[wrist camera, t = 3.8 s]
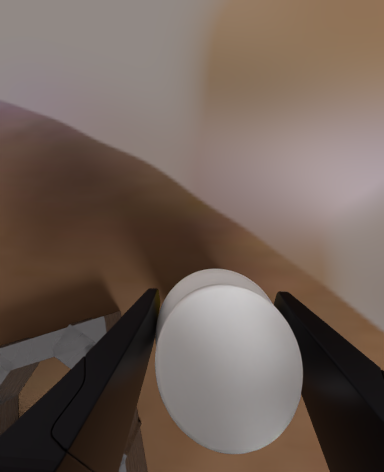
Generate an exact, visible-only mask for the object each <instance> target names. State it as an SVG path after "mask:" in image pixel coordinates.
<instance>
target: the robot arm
mask: <svg viewBox="0 0 384 472" xmlns="http://www.w3.org/2000/svg"><path fill="white" fill-rule="evenodd" d="M274 306H275V307H276V308H277V309H278V311H279V312H280V313H281V314H282V315H283V317H284V318H285V320H286V321H287V322H288V324H289V326H290V328H291V329H292V331H293V334H294V336H295V338H296V341H297V343H298V346H299V350H300V354H301V359H302V366H303V381H302V391H301V394H302V397H303V400H304V402H305V405H306V408H307V411H308V413H309V416H310V419H311V422H312V424H313V427H314V430H315V432H316V435H317V438H318V441H319V443H320V446H321V449H322V451H323V454H324V457H325V460H326V462H327V465H328V468H329V470H330V472H384V371H383V370H381V368H380V367H379V366H377V365H376V364H375V363H374V362H373V361H371V360H370V359H369V358H368V357H366V356H365V355H364V354H363V353H362V352H360V351H359V350H358V349H357V348H356V347H354V346H353V345H352V344H351V343H350V342H348V341H347V340H346V339H345V338H343V337H342V336H341V335H340V334H339V333H337V332H336V331H335V330H334V329H333V328H331V327H330V326H329V325H328V324H326V323H325V322H324V321H323V320H322V319H320V318H319V317H318V316H317V315H316V314H314V313H313V312H312V311H311V310H309V309H308V308H307V307H306V306H305V305H303V304H302V303H301V302H300V301H299V300H297V299H296V298H295V297H294V296H292V295H291V294H290V293H289V292H278V293H277V295H276V299H275V302H274ZM159 308H160V297H159V291H158V289H156V288H150V289H148V290H147V291H146V292H145V293H144V294H143V295H142V296H141V297H140V298H139V299H138V300H137V301H136V302H135V304H134V305H133V306H132V307H131V308H130V309H129V310H128V311H127V312H126V313H125V314H124V315H123V316H122V317H121V318H120V319H119V320H118V321H117V322H116V323H115V324H114V325H113V326H112V327H111V328H110V329H109V331H108V332H107V333H106V334H105V335H104V336H103V337H102V338H101V339H100V340H99V341H98V342H97V343H96V344H95V345H94V346H93V347H92V348H91V349H90V350H89V351H88V352H87V353H86V355H85V356H83V357H82V358H81V360H80V361H79V362H78V363H77V364H76V365H75V366H74V367H73V368H72V369H71V370H70V371H69V372H68V373H67V374H66V375H65V376H64V377H63V378H62V379H61V380H60V381H59V382H58V383H57V384H56V385H54V386H53V387H52V388H51V389H50V390H49V391H48V392H47V393H46V394H45V395H44V396H43V397H42V398H41V399H40V400H38V401H37V402H36V403H35V404H34V405H33V406H32V407H31V408H30V409H29V410H27V411H26V412H25V413H24V414H23V415H22V416H21V417H20V418H19V419H18V420H16V421H15V422H14V423H13V424H12V425H11V426H10V427H9V428H8V429H7V430H5V431H4V432H3V433H2V434H1V435H0V472H119V469H120V465H121V461H122V457H123V454H124V450H125V446H126V443H127V439H128V435H129V432H130V428H131V424H132V421H133V417H134V413H135V410H136V406H137V402H138V399H139V395H140V391H141V387H142V384H143V380H144V376H145V373H146V369H147V365H148V362H149V358H150V354H151V351H152V347H153V343H154V339H155V333H156V325H157V319H158V315H159Z"/></svg>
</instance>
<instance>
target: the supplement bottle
mask: <svg viewBox="0 0 384 472" xmlns="http://www.w3.org/2000/svg"><path fill="white" fill-rule="evenodd" d="M155 339H156V354H155V371H156V379H157V385H158V389H159V393H160V395H161V398H162V401H163V403H164V405H165V407H166V409H167V411H168V412H169V414H170V416H171V418H172V419H173V420H174V422H175V423H176V424H177V426H178V427H179V428H180V429H181V430H182V431H183V432H184V433H185V434H186V435H187V436H189V437H190V438H191V439H193V440H194V441H195V442H197V443H198V444H200V445H202V446H204V447H205V448H208V449H210V450H213V451H216V452H220V453H225V454H244V453H248V452H252V451H255V450H259V449H261V448H263V447H265V446H267V445H268V444H270V443H271V442H273V441H274V440H275V439H276V438H277V437H279V436H280V434H281V433H282V432H283V431H284V430H285V429H286V427H287V426H288V424H289V423H290V421H291V420H292V418H293V416H294V414H295V411H296V409H297V406H298V403H299V400H300V397H301V391H302V381H303V366H302V359H301V354H300V350H299V346H298V343H297V341H296V338H295V336H294V334H293V331H292V329H291V328H290V326H289V324H288V322H287V321H286V320H285V318H284V317H283V315H282V314H281V313H280V312H279V311H278V309H277V308H276V307H275V306H274V305H273V304H272V302H271V301H270V299H269V298H268V296H267V295H266V294H265V292H264V291H263V290H262V289H261V288H260V287H259V286H258V285H257V284H255V283H254V282H253V281H251V280H250V279H248V278H247V277H245V276H243V275H241V274H239V273H236V272H233V271H230V270H225V269H205V270H201V271H198V272H195V273H192V274H190V275H188V276H187V277H185V278H184V279H182V280H181V281H179V282H178V283H177V284H176V285H175V286H174V287H173V288H172V290H171V291H170V292H169V294H168V295H167V297H166V298H165V300H164V302H163V304H162V306H161V309H160V312H159V315H158V319H157V325H156V336H155Z"/></svg>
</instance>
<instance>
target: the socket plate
mask: <svg viewBox="0 0 384 472" xmlns="http://www.w3.org/2000/svg"><path fill="white" fill-rule="evenodd" d="M120 318H121V312H120V311H119V312H115V313H112V314H109V315H105V316H102V317H99V318H96V319H93V318H89V319H86V320H82V321H79V322H75V323H72V324H69V326H68V327H67V328H64V329H61V330H57V331H54V332H51V333H48V334H45V335H41V336H38V337H35V338H32V339H29V338H25V339H22V340H18V341H15V342H12V343H8V344H5V345H2V346H0V435H1V434H2V433H3V432H4V431H5V430H7V429H8V428H9V427H10V426H11V425H12V424H13V423H14V422H15V421H16V420H18V394H19V393H20V391H21V390H22V388H23V386H24V385H25V383H26V382H27V380H28V379H29V377H30V376H31V374H32V373H33V371H34V370H35V368H36V367H37V365H38V364H39V362H40V361H42V360H45V359H48V358H51V357H56V358H57V359H58V360H60V361H61V362H62V363H64V364H65V365H66V366H68V367H69V368H70V369H72V368H73V367H74V366H75V365H76V364H77V363H78V362H79V361H80V360H81V358H82V357H83V356H85V355H86V353H87V352H88V351H89V350H90V349H91V348H92V347H93V346H94V345H95V344H96V343H97V342H98V341H99V340H100V339H101V338H102V337H103V336H104V335H105V334H106V333H107V332H108V331H109V329H110V328H111V327H112V326H113V325H114V324H115V323H116V322H117V321H118V320H119V319H120ZM140 426H141V422H139V419H138V413H137V407H136V410H135V413H134V417H133V421H132V424H131V428H130V432H129V435H128V439H127V443H126V446H125V450H124V454H123V457H122V461H121V465H120V469H119V472H147V466H146V460H145V454H144V448H143V442H142V437H141V431H140Z"/></svg>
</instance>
